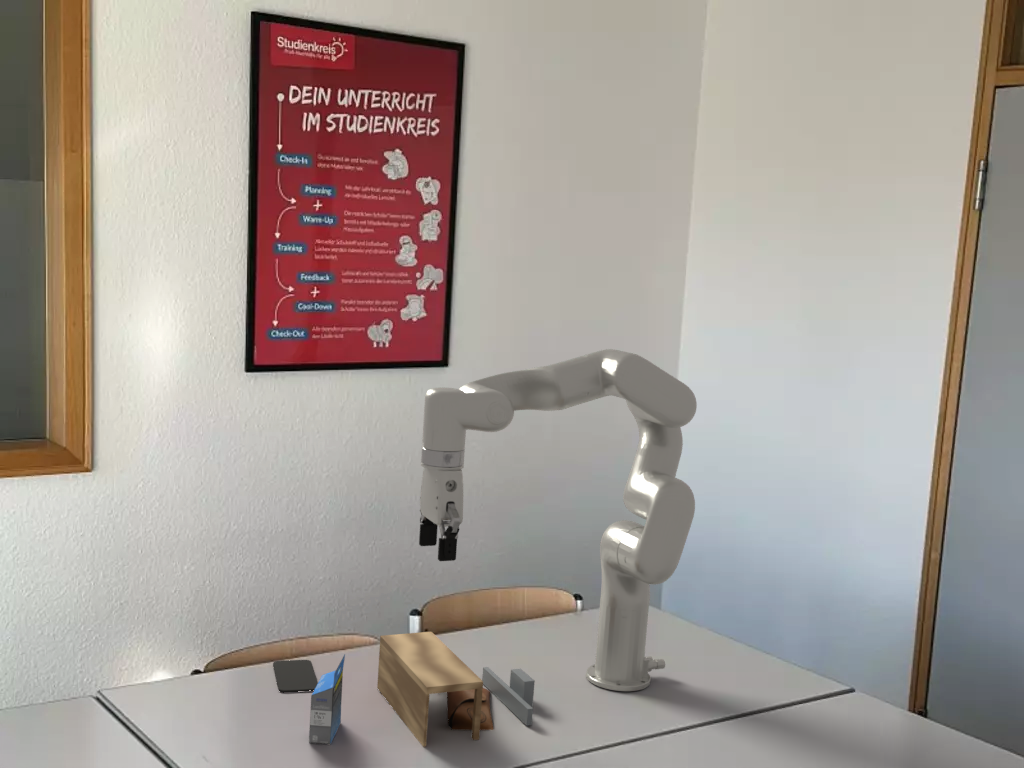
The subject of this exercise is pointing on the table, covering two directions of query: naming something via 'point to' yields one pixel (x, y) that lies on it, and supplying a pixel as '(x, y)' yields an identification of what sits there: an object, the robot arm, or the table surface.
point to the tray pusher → (513, 692)
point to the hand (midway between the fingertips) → (436, 552)
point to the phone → (295, 675)
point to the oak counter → (423, 678)
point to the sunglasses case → (467, 710)
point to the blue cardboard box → (326, 707)
